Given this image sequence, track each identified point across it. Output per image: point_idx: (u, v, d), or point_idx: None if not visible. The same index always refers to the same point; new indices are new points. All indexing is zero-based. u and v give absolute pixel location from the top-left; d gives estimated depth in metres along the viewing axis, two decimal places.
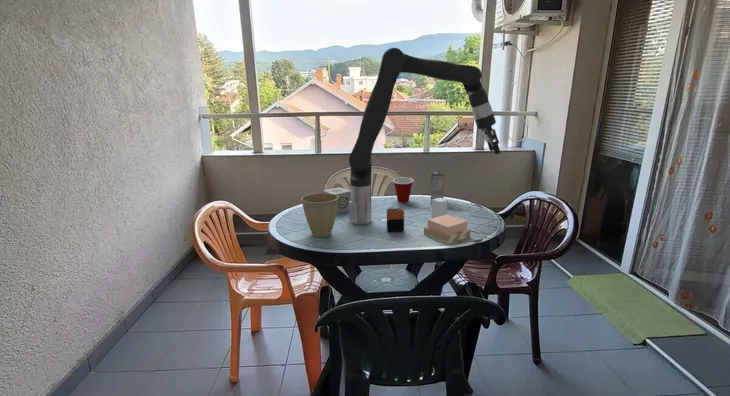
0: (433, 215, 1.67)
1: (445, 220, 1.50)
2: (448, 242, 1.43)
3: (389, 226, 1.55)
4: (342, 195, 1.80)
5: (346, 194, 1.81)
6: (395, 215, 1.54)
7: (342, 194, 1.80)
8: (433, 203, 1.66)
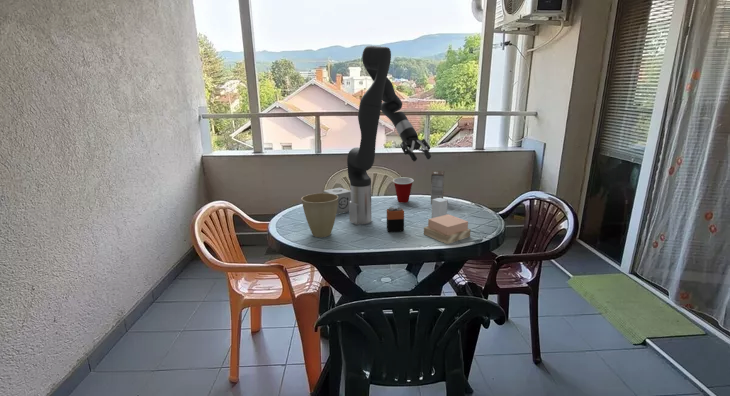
0: (433, 215, 1.67)
1: (446, 220, 1.50)
2: (448, 242, 1.43)
3: (389, 226, 1.55)
4: (342, 195, 1.79)
5: (346, 194, 1.81)
6: (395, 215, 1.54)
7: (342, 194, 1.79)
8: (433, 203, 1.66)
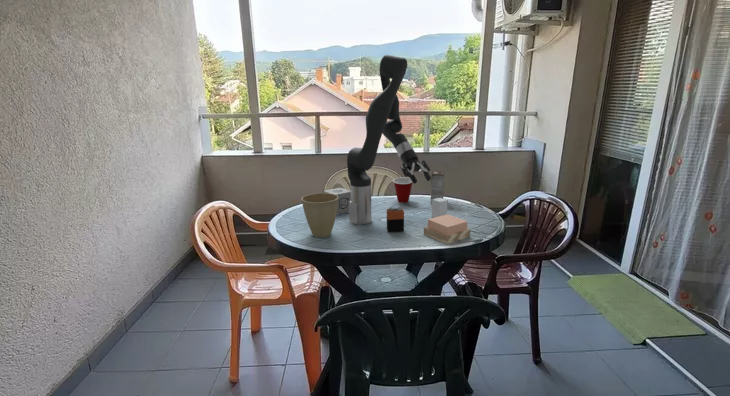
0: (433, 215, 1.67)
1: (445, 220, 1.50)
2: (448, 242, 1.43)
3: (389, 226, 1.55)
4: (343, 195, 1.79)
5: (347, 194, 1.81)
6: (395, 215, 1.54)
7: (343, 194, 1.79)
8: (433, 203, 1.66)
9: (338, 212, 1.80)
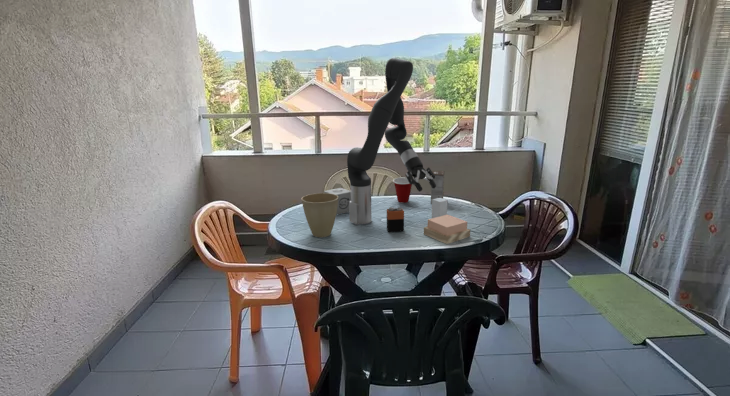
0: (433, 215, 1.67)
1: (445, 220, 1.50)
2: (448, 242, 1.43)
3: (389, 226, 1.55)
4: (343, 195, 1.79)
5: (347, 194, 1.80)
6: (395, 215, 1.54)
7: (343, 194, 1.79)
8: (433, 203, 1.66)
9: (338, 212, 1.79)
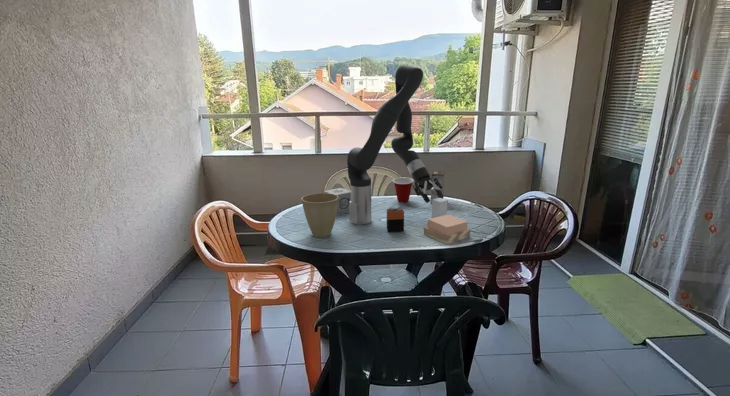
0: (433, 215, 1.67)
1: (445, 220, 1.50)
2: (448, 242, 1.43)
3: (389, 226, 1.55)
4: (343, 196, 1.79)
5: (347, 195, 1.80)
6: (395, 215, 1.54)
7: (343, 195, 1.79)
8: (433, 203, 1.66)
9: (339, 212, 1.79)
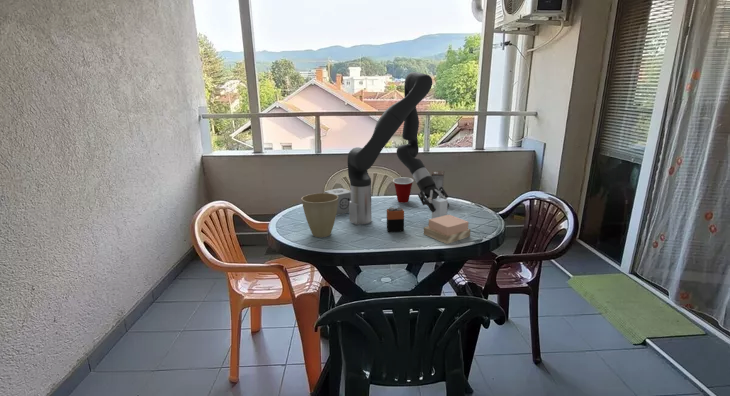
0: (433, 215, 1.67)
1: (446, 220, 1.50)
2: (448, 242, 1.43)
3: (389, 226, 1.55)
4: (344, 196, 1.79)
5: (348, 195, 1.80)
6: (395, 215, 1.54)
7: (344, 195, 1.78)
8: (433, 203, 1.66)
9: (339, 212, 1.79)
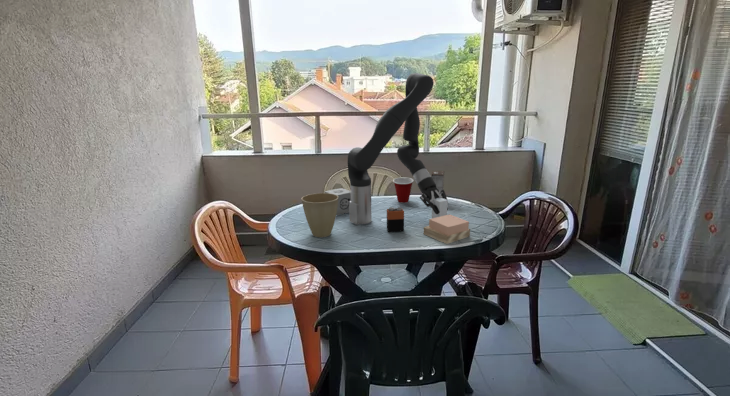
0: (433, 215, 1.67)
1: (447, 220, 1.50)
2: (448, 242, 1.43)
3: (389, 226, 1.55)
4: (344, 196, 1.78)
5: (348, 195, 1.80)
6: (395, 215, 1.54)
7: (344, 195, 1.78)
8: None
9: (339, 213, 1.79)
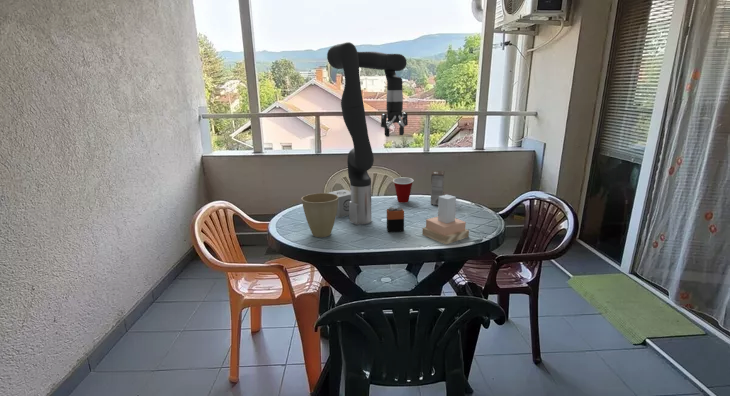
0: (440, 214, 1.49)
1: None
2: (447, 243, 1.43)
3: (389, 226, 1.55)
4: (347, 197, 1.76)
5: None
6: (395, 215, 1.54)
7: (347, 196, 1.76)
8: (440, 201, 1.47)
9: (343, 214, 1.76)
